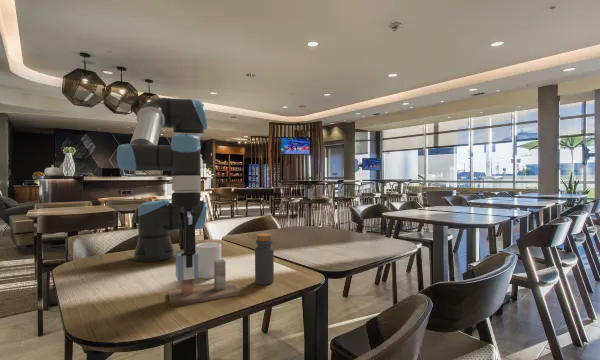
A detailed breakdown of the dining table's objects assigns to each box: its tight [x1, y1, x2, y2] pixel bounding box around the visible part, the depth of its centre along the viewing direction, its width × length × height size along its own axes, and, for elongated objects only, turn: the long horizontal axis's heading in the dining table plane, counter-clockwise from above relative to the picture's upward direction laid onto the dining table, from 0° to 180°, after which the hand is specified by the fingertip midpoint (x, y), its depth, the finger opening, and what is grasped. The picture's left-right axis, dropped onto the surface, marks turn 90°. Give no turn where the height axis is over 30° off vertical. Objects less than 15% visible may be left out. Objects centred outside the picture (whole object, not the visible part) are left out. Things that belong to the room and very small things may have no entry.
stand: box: [167, 258, 241, 308], centre depth 90 cm, size 10×18×9 cm, turn 118°
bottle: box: [254, 232, 275, 286], centre depth 101 cm, size 6×6×15 cm
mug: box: [195, 241, 222, 280], centre depth 107 cm, size 12×8×10 cm
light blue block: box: [175, 251, 199, 282], centre depth 88 cm, size 5×5×7 cm
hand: (187, 275), depth 88 cm, fingers closed on light blue block, 5 cm apart
